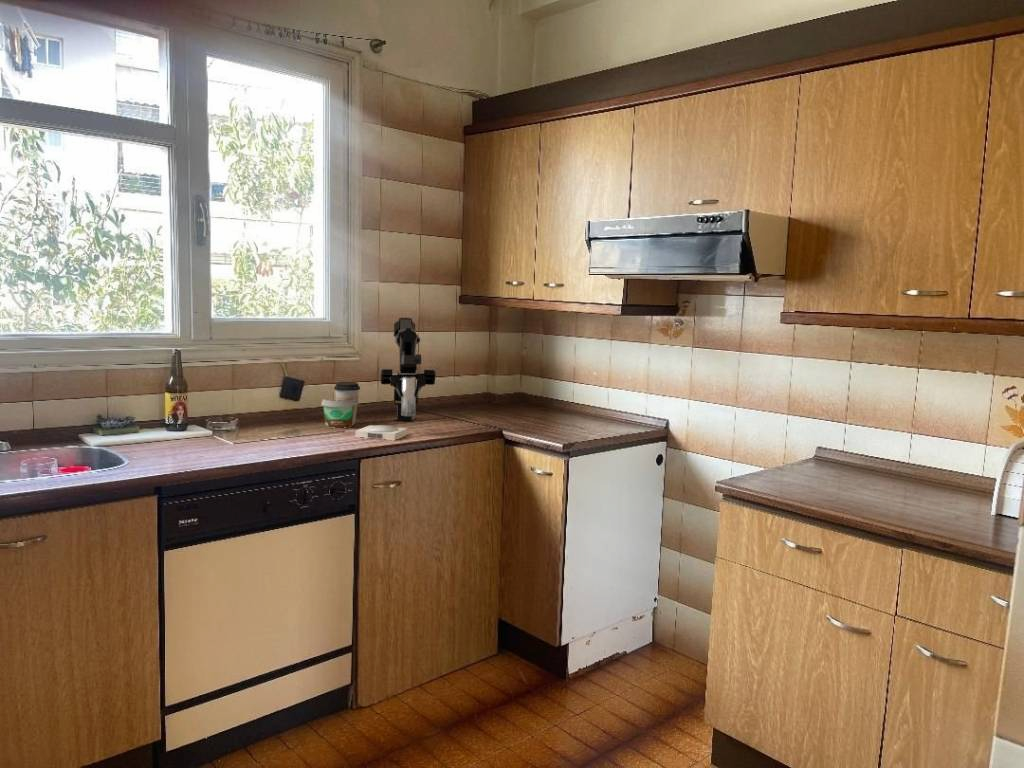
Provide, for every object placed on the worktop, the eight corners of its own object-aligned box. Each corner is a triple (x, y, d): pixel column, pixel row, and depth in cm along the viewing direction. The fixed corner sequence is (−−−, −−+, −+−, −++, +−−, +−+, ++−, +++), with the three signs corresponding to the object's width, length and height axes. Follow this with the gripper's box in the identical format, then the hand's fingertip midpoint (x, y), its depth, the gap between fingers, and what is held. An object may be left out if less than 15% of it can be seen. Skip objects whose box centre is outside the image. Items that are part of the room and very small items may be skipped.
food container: (321, 429, 262) (321, 401, 261) (321, 426, 268) (321, 398, 266) (357, 429, 265) (357, 401, 264) (356, 425, 271) (356, 398, 270)
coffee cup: (329, 425, 271) (329, 384, 269) (341, 420, 280) (341, 381, 278) (353, 426, 269) (353, 385, 267) (364, 422, 278) (364, 382, 276)
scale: (369, 431, 261) (369, 423, 260) (407, 434, 257) (407, 426, 257) (355, 437, 250) (355, 429, 249) (393, 440, 246) (394, 432, 246)
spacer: (405, 413, 260) (406, 376, 258) (417, 414, 258) (418, 377, 256) (398, 415, 255) (398, 377, 254) (410, 416, 254) (411, 378, 252)
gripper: (381, 345, 255) (381, 382, 246) (435, 346, 259) (437, 382, 250) (380, 365, 264) (380, 401, 255) (433, 366, 268) (435, 401, 259)
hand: (408, 396), depth 254 cm, fingers closed on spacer, 5 cm apart
